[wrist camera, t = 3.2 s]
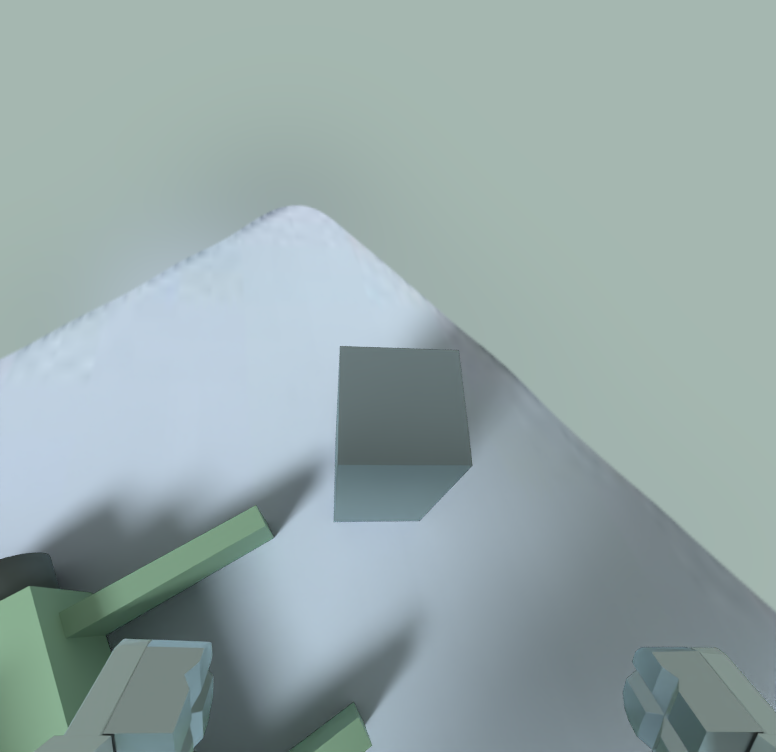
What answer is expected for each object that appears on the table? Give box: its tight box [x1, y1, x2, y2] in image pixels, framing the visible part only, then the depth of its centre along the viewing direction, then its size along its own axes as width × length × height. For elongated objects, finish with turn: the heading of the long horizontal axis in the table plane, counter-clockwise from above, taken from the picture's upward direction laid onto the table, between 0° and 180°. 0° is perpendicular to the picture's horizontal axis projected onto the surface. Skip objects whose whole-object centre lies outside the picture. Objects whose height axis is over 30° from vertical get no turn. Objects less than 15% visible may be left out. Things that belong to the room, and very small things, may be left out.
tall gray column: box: [334, 346, 473, 522], centre depth 20 cm, size 4×4×10 cm
